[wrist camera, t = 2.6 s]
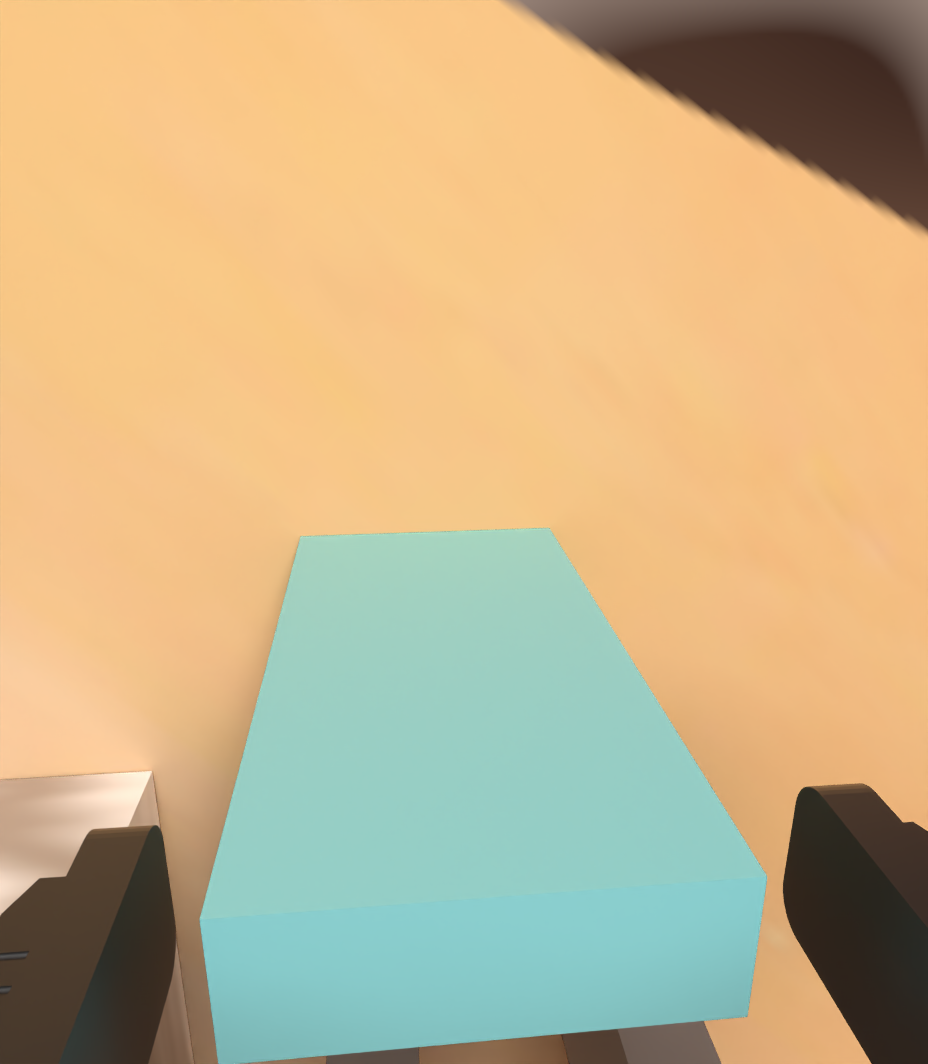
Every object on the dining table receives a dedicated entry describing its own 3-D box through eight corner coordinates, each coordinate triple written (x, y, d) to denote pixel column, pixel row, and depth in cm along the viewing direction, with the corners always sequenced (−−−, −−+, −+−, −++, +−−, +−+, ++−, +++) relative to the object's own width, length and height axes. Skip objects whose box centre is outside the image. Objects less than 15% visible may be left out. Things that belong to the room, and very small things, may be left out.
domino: (300, 536, 20) (200, 920, 8) (549, 527, 20) (766, 876, 9) (305, 613, 20) (218, 1065, 9) (546, 603, 21) (747, 1016, 10)
